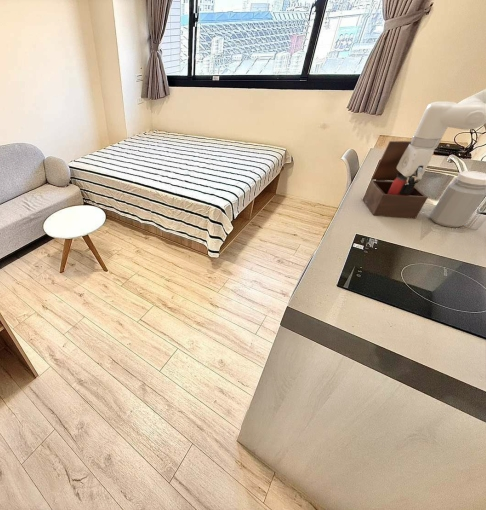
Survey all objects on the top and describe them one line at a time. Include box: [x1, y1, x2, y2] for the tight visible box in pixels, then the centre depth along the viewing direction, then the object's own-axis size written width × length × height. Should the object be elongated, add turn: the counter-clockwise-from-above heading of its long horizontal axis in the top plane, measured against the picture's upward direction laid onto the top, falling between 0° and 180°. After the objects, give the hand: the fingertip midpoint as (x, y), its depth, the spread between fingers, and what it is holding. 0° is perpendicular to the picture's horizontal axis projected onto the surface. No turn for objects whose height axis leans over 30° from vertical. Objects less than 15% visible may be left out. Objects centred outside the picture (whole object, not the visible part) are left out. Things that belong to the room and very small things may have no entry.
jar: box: [430, 170, 486, 228], centre depth 98 cm, size 10×10×18 cm
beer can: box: [387, 175, 414, 195], centre depth 107 cm, size 7×7×12 cm
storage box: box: [362, 179, 429, 219], centre depth 111 cm, size 15×14×9 cm
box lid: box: [371, 140, 416, 181], centre depth 110 cm, size 16×14×5 cm
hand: (400, 190), depth 106 cm, fingers closed on beer can, 6 cm apart
